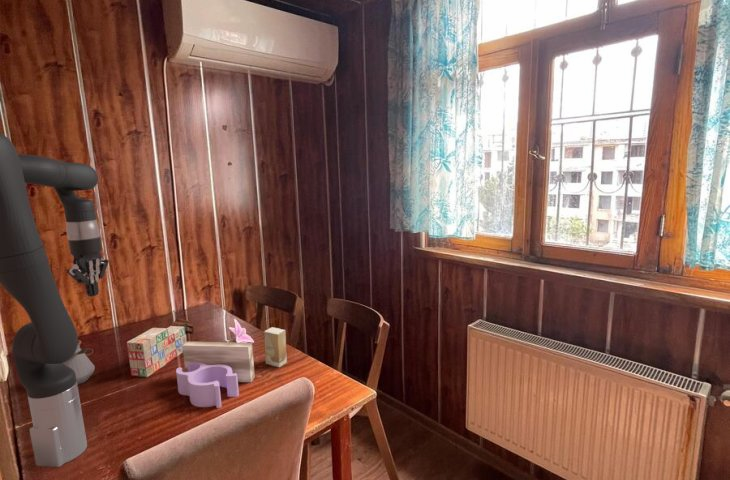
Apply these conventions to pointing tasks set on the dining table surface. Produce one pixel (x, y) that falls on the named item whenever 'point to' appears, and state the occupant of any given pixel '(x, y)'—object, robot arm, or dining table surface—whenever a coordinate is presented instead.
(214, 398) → the clip
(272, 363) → the skincare box
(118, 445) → the dining table surface
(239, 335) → the lily
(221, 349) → the board
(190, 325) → the pottery mug
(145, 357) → the stack of blocks
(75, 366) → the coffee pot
